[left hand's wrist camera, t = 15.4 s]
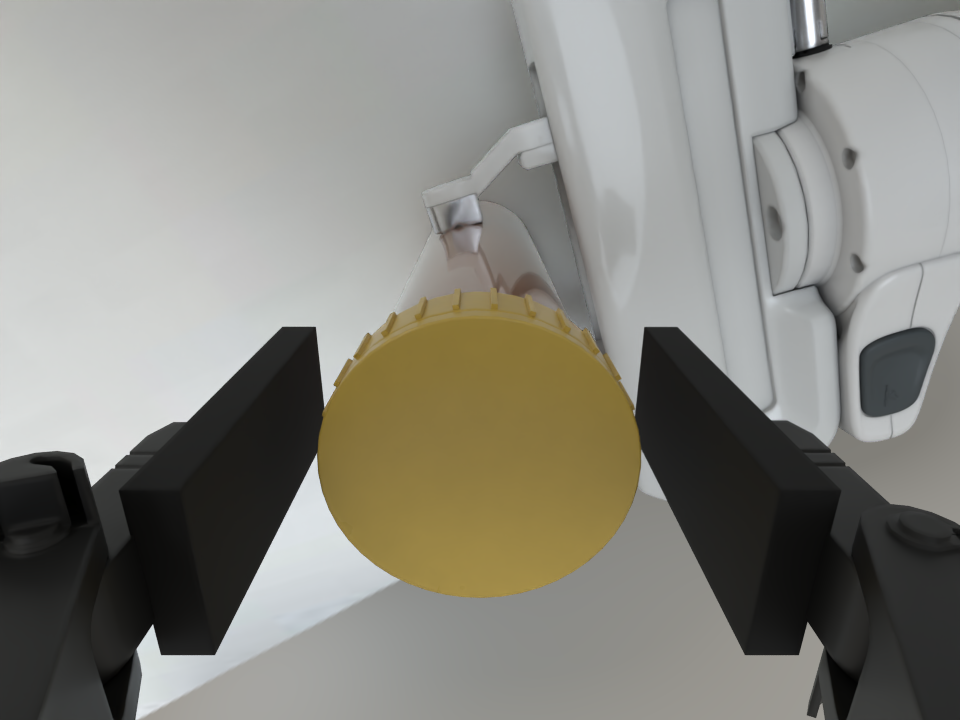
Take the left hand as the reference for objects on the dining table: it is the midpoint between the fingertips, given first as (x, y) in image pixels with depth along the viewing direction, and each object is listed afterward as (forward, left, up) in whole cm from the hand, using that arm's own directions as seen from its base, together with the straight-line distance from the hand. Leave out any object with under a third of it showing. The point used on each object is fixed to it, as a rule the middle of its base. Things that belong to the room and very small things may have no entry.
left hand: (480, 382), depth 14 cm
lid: (0, 0, +4) cm, 4 cm away
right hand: (-1, 0, -9) cm, 9 cm away
